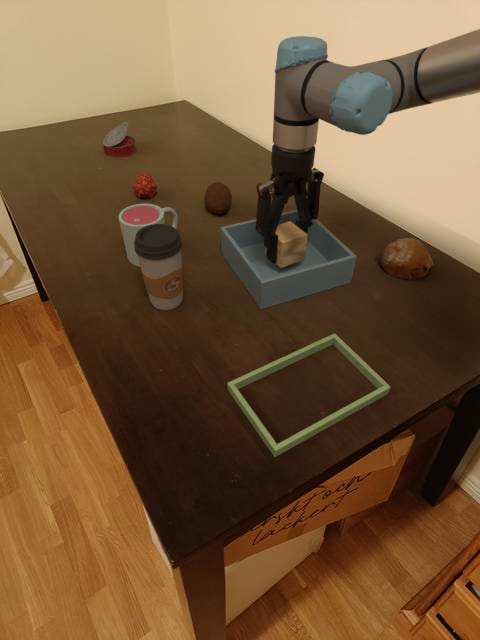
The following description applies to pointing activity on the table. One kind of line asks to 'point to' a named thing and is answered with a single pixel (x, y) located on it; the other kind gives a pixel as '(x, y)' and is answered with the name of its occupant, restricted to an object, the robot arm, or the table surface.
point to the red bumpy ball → (144, 186)
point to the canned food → (119, 142)
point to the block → (290, 244)
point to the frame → (322, 424)
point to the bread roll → (406, 259)
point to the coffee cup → (161, 264)
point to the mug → (141, 224)
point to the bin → (293, 280)
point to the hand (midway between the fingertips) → (284, 255)
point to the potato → (218, 198)
